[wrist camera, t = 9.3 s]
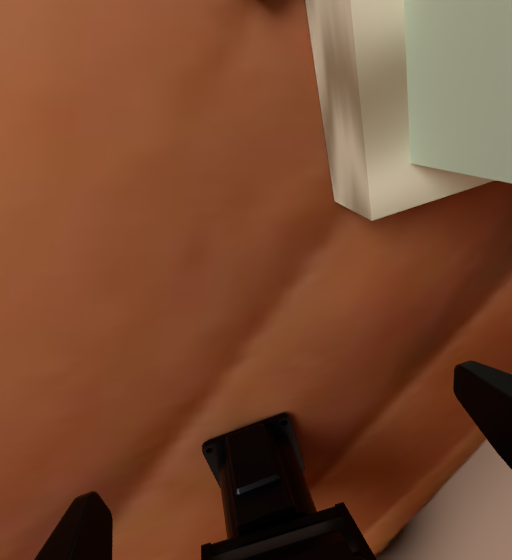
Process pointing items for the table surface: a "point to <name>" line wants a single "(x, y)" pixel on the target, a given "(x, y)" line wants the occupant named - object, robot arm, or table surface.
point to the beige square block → (370, 109)
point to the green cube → (460, 85)
